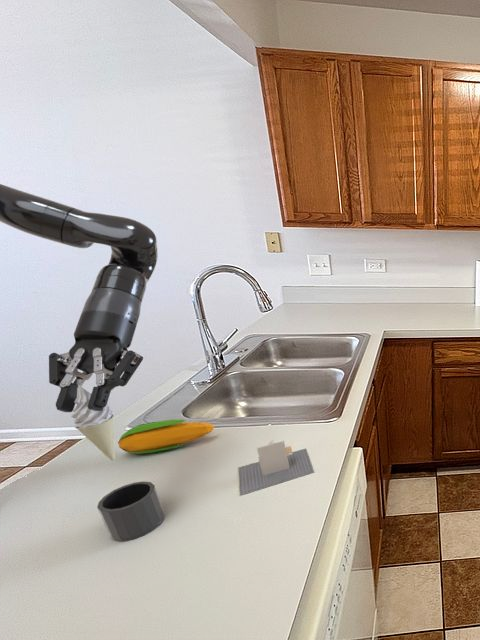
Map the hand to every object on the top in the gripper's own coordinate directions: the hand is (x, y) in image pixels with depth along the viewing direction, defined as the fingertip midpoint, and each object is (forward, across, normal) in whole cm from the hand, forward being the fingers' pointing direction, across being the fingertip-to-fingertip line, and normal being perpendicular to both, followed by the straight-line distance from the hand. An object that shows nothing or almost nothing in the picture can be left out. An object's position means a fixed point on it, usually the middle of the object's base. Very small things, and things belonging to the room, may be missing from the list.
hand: (79, 409), depth 65 cm
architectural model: (+7, +20, +30) cm, 37 cm away
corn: (-2, -10, +40) cm, 41 cm away
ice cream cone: (+7, 0, +9) cm, 11 cm away
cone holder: (+17, 0, +20) cm, 26 cm away
